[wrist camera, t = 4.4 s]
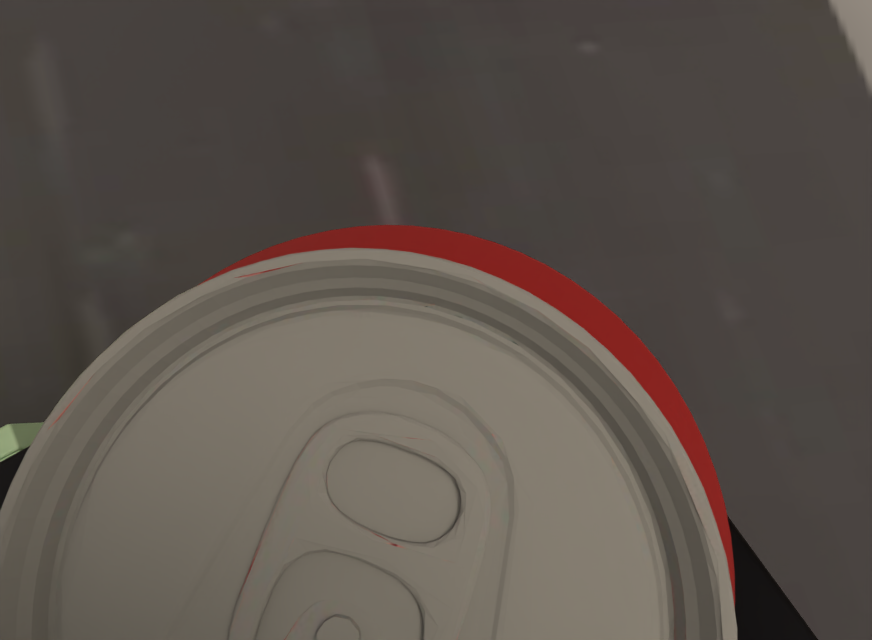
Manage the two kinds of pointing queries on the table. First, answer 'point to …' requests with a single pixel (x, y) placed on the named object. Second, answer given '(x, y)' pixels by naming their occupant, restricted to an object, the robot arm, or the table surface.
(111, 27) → the table surface
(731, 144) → the table surface
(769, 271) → the table surface
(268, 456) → the beverage can
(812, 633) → the robot arm
